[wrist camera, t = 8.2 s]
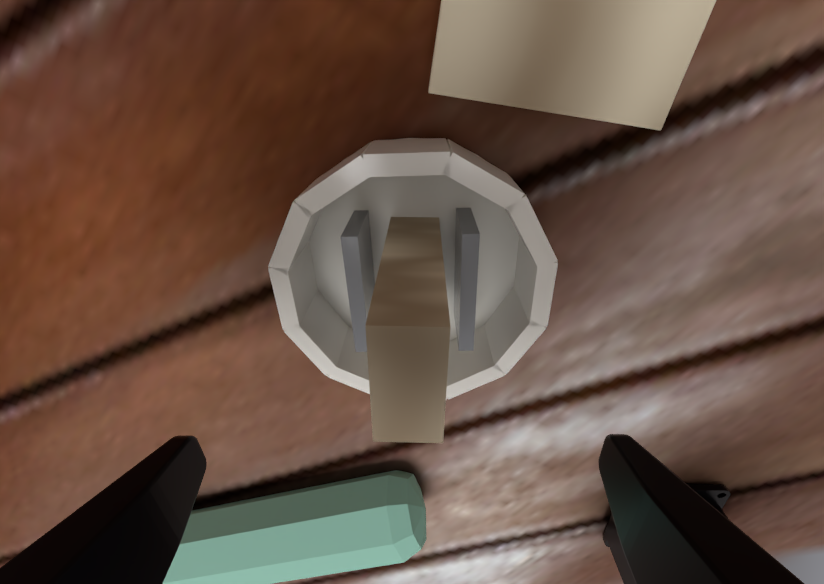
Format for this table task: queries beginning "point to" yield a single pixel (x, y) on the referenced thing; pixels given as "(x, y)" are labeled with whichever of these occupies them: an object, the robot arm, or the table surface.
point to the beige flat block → (569, 55)
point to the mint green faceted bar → (304, 532)
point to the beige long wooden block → (409, 335)
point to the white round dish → (462, 253)
